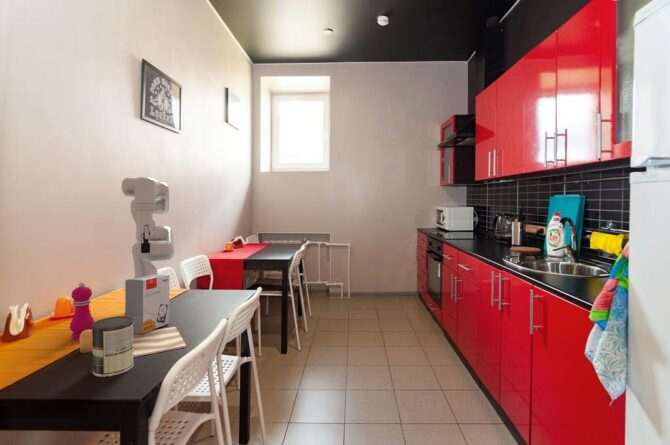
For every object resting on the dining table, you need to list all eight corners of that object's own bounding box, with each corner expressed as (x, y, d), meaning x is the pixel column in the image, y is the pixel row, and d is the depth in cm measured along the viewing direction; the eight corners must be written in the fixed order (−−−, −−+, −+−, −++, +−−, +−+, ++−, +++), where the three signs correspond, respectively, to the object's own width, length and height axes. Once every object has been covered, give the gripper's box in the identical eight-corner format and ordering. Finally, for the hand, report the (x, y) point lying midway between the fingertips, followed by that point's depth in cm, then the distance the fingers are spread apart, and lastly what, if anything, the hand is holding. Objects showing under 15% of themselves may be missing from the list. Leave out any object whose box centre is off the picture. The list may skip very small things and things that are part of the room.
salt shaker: (80, 349, 116) (80, 329, 116) (94, 347, 118) (94, 326, 118) (79, 353, 113) (79, 332, 112) (94, 351, 115) (94, 330, 115)
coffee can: (84, 377, 97) (83, 327, 96) (105, 361, 107) (104, 316, 107) (122, 376, 98) (122, 327, 97) (140, 360, 108) (139, 315, 108)
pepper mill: (99, 335, 129) (98, 281, 128) (79, 342, 122) (78, 285, 121) (85, 332, 131) (84, 279, 131) (65, 339, 125) (64, 283, 124)
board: (121, 336, 128) (121, 335, 127) (175, 328, 137) (175, 326, 137) (124, 358, 109) (124, 357, 109) (186, 347, 119) (186, 345, 119)
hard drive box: (142, 335, 127) (141, 280, 127) (124, 334, 129) (123, 280, 129) (170, 323, 143) (169, 274, 143) (154, 322, 144) (153, 274, 144)
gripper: (133, 207, 146) (133, 251, 147) (135, 208, 134) (136, 255, 135) (153, 208, 151) (153, 250, 151) (157, 208, 138) (158, 254, 139)
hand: (145, 252), depth 143 cm, fingers closed
